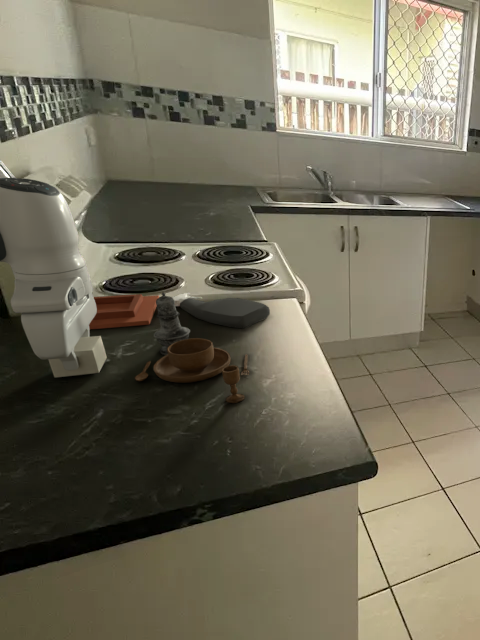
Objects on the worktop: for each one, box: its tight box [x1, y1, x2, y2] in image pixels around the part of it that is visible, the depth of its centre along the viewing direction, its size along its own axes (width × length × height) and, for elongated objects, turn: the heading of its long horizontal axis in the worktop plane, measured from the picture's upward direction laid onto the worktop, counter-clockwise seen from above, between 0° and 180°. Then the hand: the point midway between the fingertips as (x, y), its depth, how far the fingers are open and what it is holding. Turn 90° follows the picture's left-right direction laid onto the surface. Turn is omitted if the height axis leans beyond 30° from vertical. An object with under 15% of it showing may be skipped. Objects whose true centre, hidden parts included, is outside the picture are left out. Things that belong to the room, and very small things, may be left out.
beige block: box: [47, 335, 108, 378], centre depth 83 cm, size 6×6×4 cm
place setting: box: [134, 337, 250, 404], centre depth 83 cm, size 18×20×6 cm
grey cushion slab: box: [171, 291, 271, 329], centre depth 110 cm, size 3×11×24 cm
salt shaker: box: [153, 291, 191, 356], centre depth 91 cm, size 6×6×12 cm
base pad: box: [89, 293, 160, 330], centre depth 104 cm, size 16×16×2 cm
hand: (79, 358), depth 83 cm, fingers closed on beige block, 6 cm apart
